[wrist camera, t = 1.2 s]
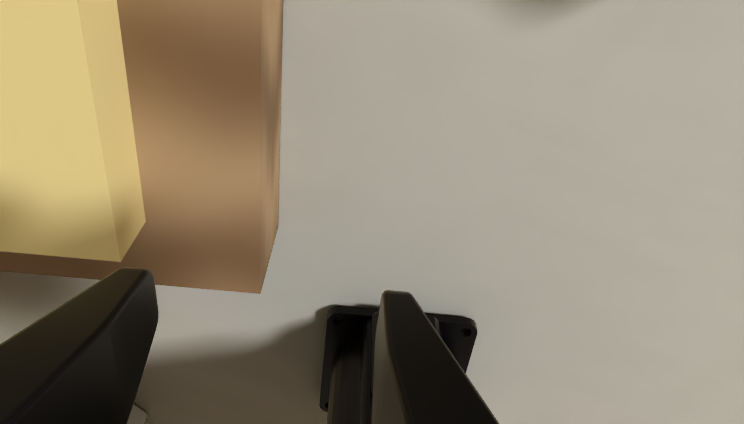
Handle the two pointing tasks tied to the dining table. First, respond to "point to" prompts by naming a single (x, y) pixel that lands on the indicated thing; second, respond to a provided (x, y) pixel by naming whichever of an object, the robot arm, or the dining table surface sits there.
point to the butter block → (66, 132)
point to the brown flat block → (198, 144)
